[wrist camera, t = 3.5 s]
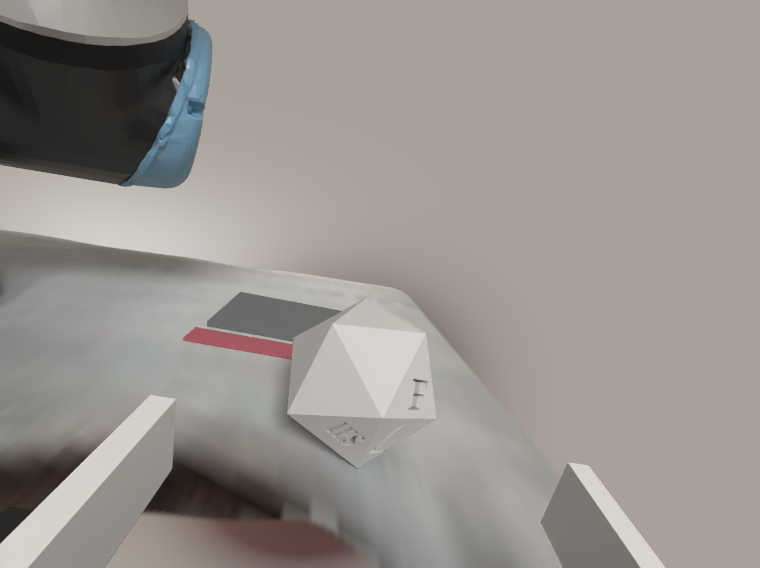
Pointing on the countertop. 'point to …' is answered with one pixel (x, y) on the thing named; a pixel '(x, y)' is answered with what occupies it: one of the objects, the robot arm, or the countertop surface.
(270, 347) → the line
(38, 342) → the countertop surface
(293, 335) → the mat
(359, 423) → the die
